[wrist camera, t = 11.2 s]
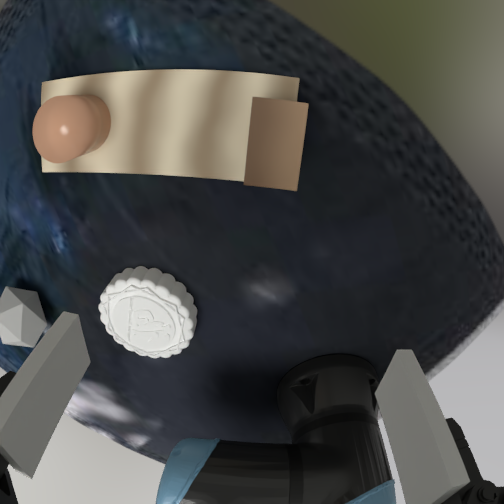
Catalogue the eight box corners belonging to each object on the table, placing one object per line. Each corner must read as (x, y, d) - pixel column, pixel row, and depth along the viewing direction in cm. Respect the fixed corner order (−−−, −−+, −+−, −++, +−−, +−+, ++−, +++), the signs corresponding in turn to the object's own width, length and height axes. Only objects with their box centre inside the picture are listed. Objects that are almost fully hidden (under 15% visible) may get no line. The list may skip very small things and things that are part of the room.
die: (11, 267, 37) (-23, 317, 32) (28, 282, 32) (-11, 340, 28) (44, 299, 43) (13, 345, 38) (66, 317, 38) (32, 370, 33)
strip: (297, 79, 26) (322, 62, 14) (284, 182, 30) (298, 232, 19) (49, 82, 25) (-33, 88, 14) (49, 168, 30) (-26, 206, 18)
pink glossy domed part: (112, 92, 25) (86, 92, 20) (110, 153, 28) (85, 163, 23) (62, 97, 25) (33, 99, 20) (62, 153, 27) (33, 164, 23)
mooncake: (189, 352, 41) (184, 372, 38) (107, 327, 40) (97, 344, 37) (207, 281, 36) (202, 299, 32) (109, 253, 35) (96, 268, 31)
